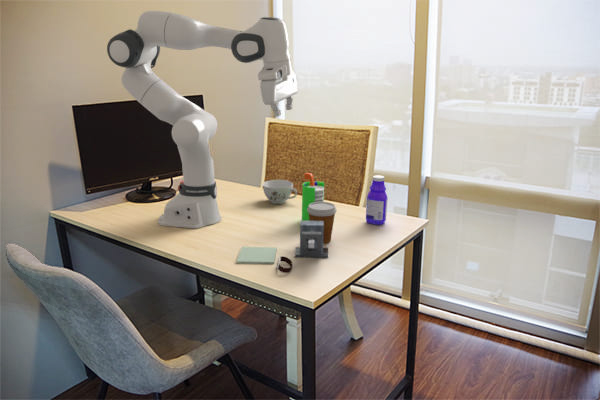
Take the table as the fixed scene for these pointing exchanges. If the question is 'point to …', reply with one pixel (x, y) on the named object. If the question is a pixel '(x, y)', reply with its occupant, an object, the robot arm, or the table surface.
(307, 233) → the link
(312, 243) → the hook stand
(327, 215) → the disposable coffee cup
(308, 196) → the green-shelled ribbed roller
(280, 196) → the teacup
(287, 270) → the watch
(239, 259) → the mat
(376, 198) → the bottle
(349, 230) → the table surface
